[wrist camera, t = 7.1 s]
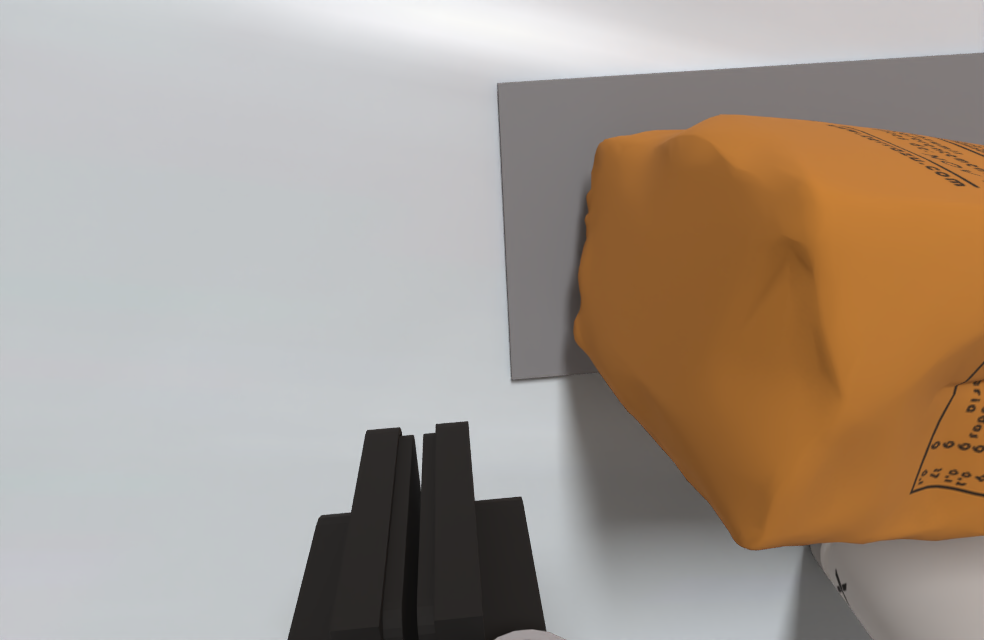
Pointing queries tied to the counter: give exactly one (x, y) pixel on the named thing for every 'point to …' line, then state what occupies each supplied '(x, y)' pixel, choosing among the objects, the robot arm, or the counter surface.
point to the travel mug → (910, 586)
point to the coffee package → (797, 322)
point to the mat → (676, 106)
